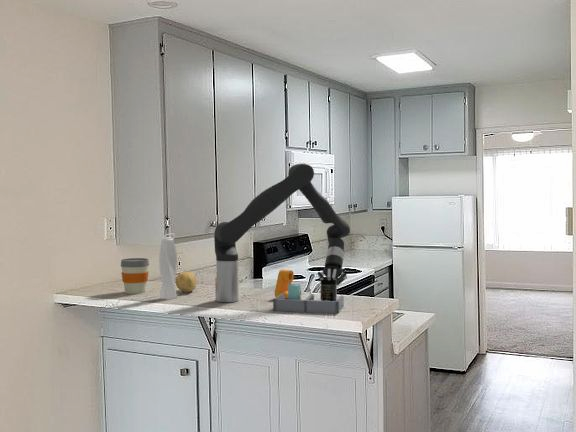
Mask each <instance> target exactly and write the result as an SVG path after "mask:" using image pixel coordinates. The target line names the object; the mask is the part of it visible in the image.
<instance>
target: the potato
mask: <svg viewBox="0 0 576 432" xmlns="http://www.w3.org/2000/svg"><path fill="white" fill-rule="evenodd" d="M197 282H198V281H197V278H196V276H195V274H194V273H193V272H192V271H185V270H184V271H182V272H180V273H179V274H177V276H175V287H176V288H177V289H178V290H179V291H181V292H184V293H190V292H193V291H194V290H195V289H196V287H197V285H198V283H197Z"/></svg>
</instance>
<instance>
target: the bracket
mask: <svg viewBox="0 0 576 432" xmlns="http://www.w3.org/2000/svg"><path fill="white" fill-rule="evenodd" d="M294 278H295V273H294V271H293V270H290V269H280V270H279V271H278V274H277V280H276V283H275V290H274V298H276V297H277V296H279V295H280V294H281V293H285V299H288V285H289V284H292V283H293V281H294Z"/></svg>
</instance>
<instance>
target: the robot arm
mask: <svg viewBox="0 0 576 432" xmlns="http://www.w3.org/2000/svg"><path fill="white" fill-rule="evenodd" d="M287 173H288V176H286V177H285V178H284V179H282V180H281V181H279V182H277V183H275V184H273V185H272V186H270V187H268V188H265V190H263V191H261V192H260V193H259V194H258V195H257V196H255V197H254V198H253V199H252V200H251V201H250V202H249V204H248V205H247V206H246V208H245V209H244V211H243V212H241V213H240V214H239V215H238V216H236V217H234V218H233V219H231V220H229V222H227V221H223V222H219V223H218V224H217V225H216V227H215V229H214V236H213V237H214V241H213V242H214V253H215V262H216V268H215V269H216V270H215V271H216V274H215V275H216V277H215V279H214V281H215V285H214V287H215V290H214V291H215V297H214V298H215V301H217V303H234V302H235V303H236V302H238V301H239V253H238V251H237V247H236V243H237V242H238V241H239V240H240V239H241V238H242V237H243V236H244V235H245V234H246V233H247V232H248V231H249V230H250V229H251V228H252V227H254V226H255V225H256V224H258V223H259V222H261V221H262V220H263V219H264V218H266V217H267V216H268V215H270V214H271V213H273V212H274V211H275V210H277V208H278V207H279V206H281V204H283V203H284V202H286V200H288V198H290V197H291V196H292V195H293V194H294V193H296V192H297V191H298V190H299V191H300V193H302V195H303V196H304V197H305V198H306V200H307V201H308V203H309V204H310V205H311V207H312V208H313V210H314V211H315V212H316V214H317V216H318V217H319V218H320V220H321V221H322V222H323V223H324V224H332V225H330V226H328V228H327V230H326V236H327V241H328V245H327V252H326V255H325V263H324V268H323V269H322V271H317V276H318V279H319V280H320V279H321V278H336V279H337V286H340V285H341V283H343V282H344V281H345V280H346V279H347V278H348V274H347V272H343V262H344V250H345V241H344V240H343V238H345V237H347V236H349V235H350V234H351V228H350V225H349V224H348V223H347V221H346V220H345V219H344V218H342V217H341V216H340V215H339V214H338V213H336V211H335V210H334V208H333V207H332V205H331V203H330V202H329V200H327V199H326V198H325V196H323V195H322V193H321V192H319V191H318V190H317V188H315V186H314V185H313V183H312V180H313V178H314V177H315V170H314V168H313V166H312V165H310V164H308V163H296V164H294V165H292V166H291V167H289V170H288V172H287Z"/></svg>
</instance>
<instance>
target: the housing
mask: <svg viewBox="0 0 576 432" xmlns="http://www.w3.org/2000/svg"><path fill="white" fill-rule="evenodd" d="M301 287H302V285H301V284H298V283H291V284H289V285H288V299H286V298H285V293H281V294H280V295H279V296H277V297H274V298H273V299H272V301H273V302H272V310H273V311H275V312H295V313H296V312H299V313H300V312H301V313H321V314H322V313H323V314H339V313H340V312H341V311H342V309H343V308H344V307H343V306H345V305H344V303H345V302H344V298H345V296H344V295H339V297H337V301H320V300H314V298H315V294H311V293H310V295H308V296H307V297H306V298H305V299H301V295H302V290H301V289H302V288H301ZM340 310H341V311H340Z"/></svg>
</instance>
